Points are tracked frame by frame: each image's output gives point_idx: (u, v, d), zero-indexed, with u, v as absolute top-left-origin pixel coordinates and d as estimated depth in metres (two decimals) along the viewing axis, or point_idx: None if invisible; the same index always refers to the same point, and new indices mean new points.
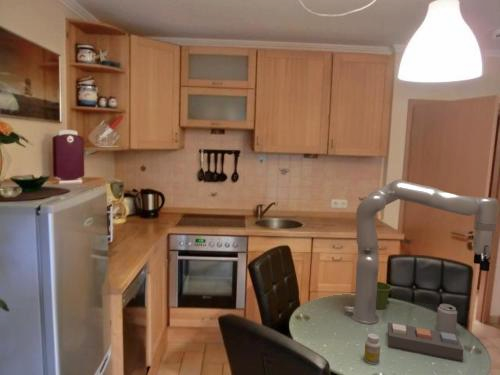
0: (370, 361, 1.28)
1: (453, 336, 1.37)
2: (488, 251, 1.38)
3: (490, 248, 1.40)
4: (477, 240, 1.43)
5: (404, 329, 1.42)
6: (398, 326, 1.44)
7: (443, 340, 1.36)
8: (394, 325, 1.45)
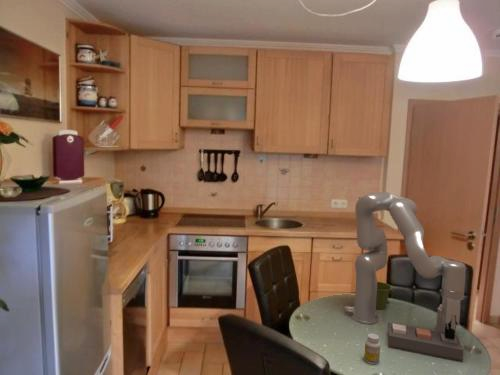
0: (370, 361, 1.28)
1: None
2: (453, 326, 1.31)
3: (458, 318, 1.31)
4: (444, 307, 1.34)
5: (404, 329, 1.42)
6: (398, 326, 1.44)
7: None
8: (394, 325, 1.45)
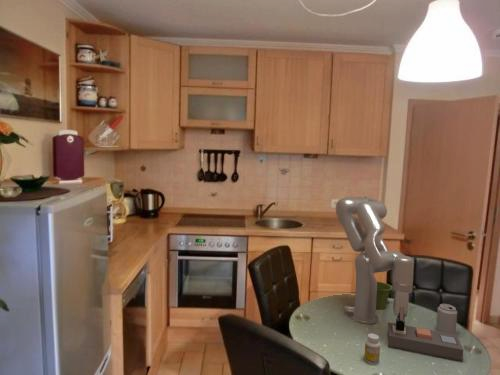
0: (370, 361, 1.28)
1: (453, 339, 1.37)
2: (401, 317, 1.38)
3: (405, 310, 1.37)
4: (394, 300, 1.41)
5: (404, 331, 1.42)
6: None
7: None
8: (394, 327, 1.45)
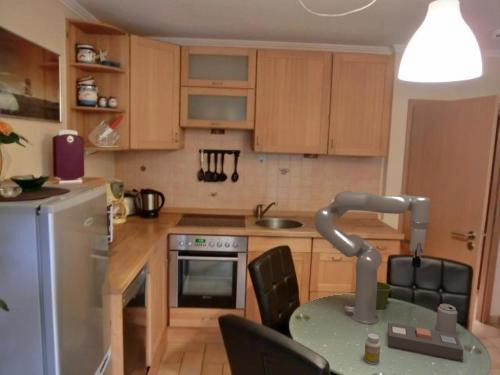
0: (370, 361, 1.28)
1: (453, 339, 1.37)
2: (418, 253, 1.46)
3: (422, 245, 1.45)
4: (411, 238, 1.48)
5: (404, 332, 1.42)
6: (397, 330, 1.44)
7: None
8: (394, 328, 1.45)
